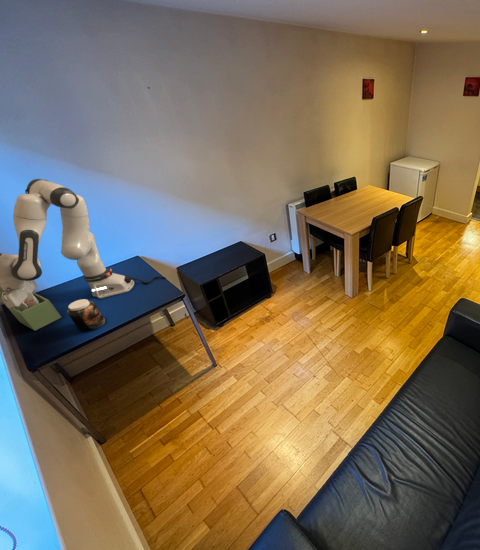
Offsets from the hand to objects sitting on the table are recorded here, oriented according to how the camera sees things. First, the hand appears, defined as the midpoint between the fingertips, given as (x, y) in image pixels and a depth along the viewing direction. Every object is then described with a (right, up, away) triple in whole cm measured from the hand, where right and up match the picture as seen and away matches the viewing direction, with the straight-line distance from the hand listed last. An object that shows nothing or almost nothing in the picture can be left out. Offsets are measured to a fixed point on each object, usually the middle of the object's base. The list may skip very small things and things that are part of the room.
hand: (29, 304), depth 159 cm
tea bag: (0, -3, +2) cm, 4 cm away
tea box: (-2, -10, +7) cm, 12 cm away
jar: (+30, -12, +5) cm, 33 cm away
